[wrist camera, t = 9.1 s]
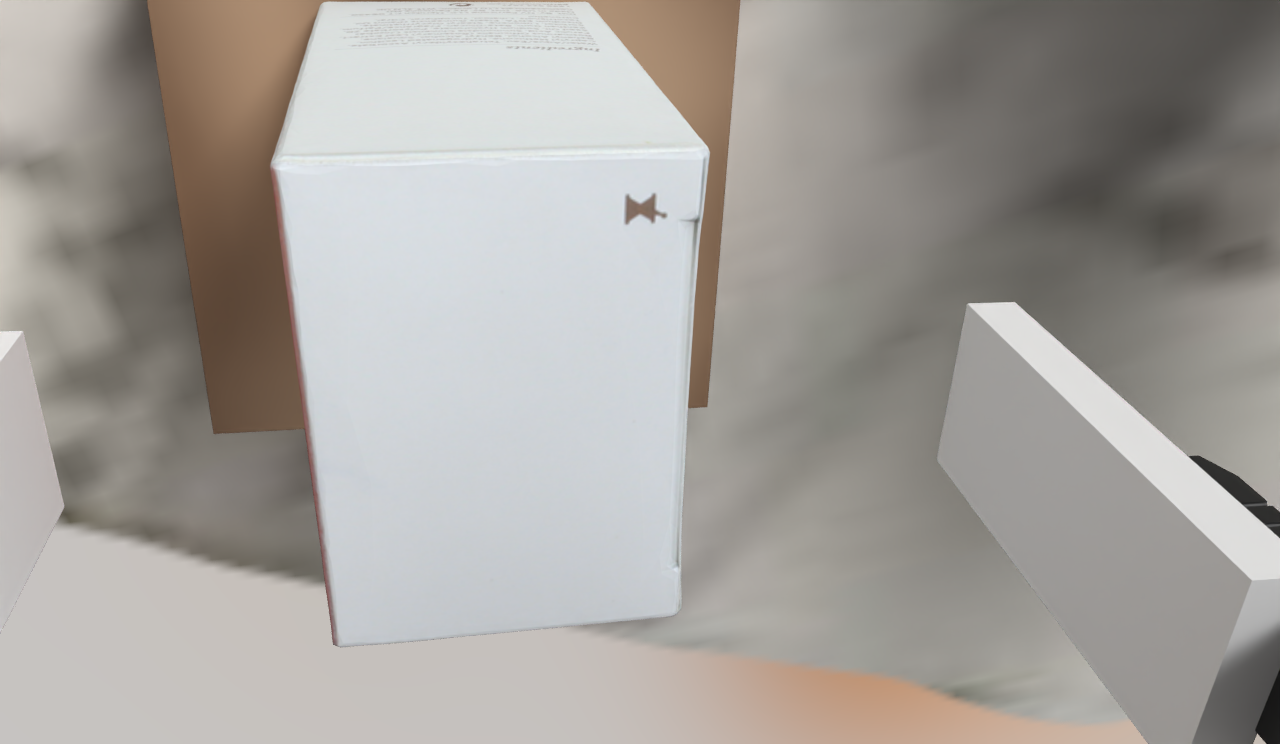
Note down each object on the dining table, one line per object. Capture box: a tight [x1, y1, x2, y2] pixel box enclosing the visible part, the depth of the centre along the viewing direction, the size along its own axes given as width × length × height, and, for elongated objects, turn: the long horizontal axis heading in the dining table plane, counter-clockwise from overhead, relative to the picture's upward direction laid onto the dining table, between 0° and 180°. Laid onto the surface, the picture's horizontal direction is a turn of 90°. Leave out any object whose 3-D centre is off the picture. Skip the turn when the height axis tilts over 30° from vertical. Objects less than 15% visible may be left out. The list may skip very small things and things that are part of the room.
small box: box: [270, 2, 710, 647], centre depth 20 cm, size 8×6×10 cm
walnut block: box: [147, 0, 740, 434], centre depth 27 cm, size 12×12×5 cm
